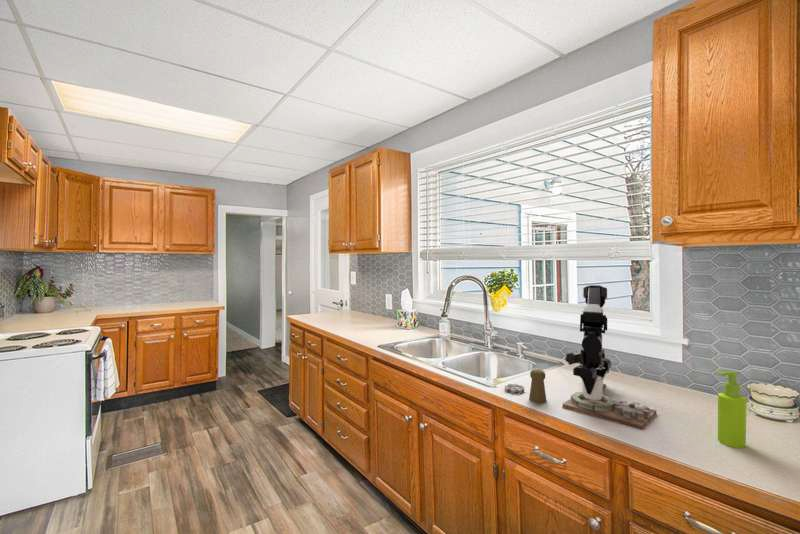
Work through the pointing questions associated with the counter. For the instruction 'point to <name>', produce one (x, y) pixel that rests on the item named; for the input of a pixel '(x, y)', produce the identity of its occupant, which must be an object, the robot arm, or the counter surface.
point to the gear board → (612, 410)
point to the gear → (514, 388)
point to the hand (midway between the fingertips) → (592, 391)
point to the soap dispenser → (731, 413)
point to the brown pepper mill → (537, 387)
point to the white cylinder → (594, 389)
